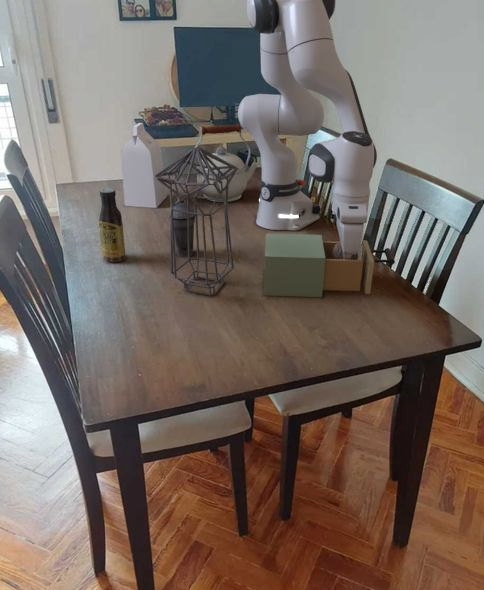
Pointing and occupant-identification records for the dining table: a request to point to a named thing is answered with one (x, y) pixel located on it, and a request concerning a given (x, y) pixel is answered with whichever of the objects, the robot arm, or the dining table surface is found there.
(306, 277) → the cabinet
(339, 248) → the vase
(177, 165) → the geometric lantern
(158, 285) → the dining table surface
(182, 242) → the beverage cup
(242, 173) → the kettle
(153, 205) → the milk
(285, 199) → the robot arm
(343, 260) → the drawer
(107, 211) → the sauce bottle
